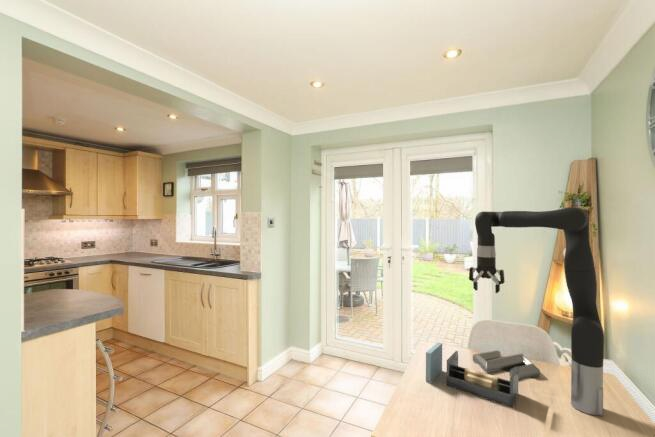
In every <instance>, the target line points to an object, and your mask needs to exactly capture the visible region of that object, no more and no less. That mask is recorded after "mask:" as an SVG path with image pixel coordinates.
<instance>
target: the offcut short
mask: <svg viewBox="0 0 655 437" xmlns="http://www.w3.org/2000/svg"><path fill="white" fill-rule="evenodd" d="M467 382H470V383H474V384H477V385H480V386H483V387H487V388H490V389H492V386H493V381H491V380H488V379H484V378H481V377H477V376H474V375H471V374H468V375H467Z"/></svg>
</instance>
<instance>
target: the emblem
mask: <svg viewBox="0 0 655 437" xmlns="http://www.w3.org/2000/svg"><path fill="white" fill-rule="evenodd" d="M472 361H473V362H474V364H477V365H478V366H479V367H480V368H481V369H482V370H483V371H484V373H485V374H489V375H490V374H493V373H497V372H501V371H502V372H507V373H509V377H511V375H512V373H513V371H514V369H515V367H518V381H519V380H523V379H525V378H529V379H535V378H538V377H540V376H541V370H540V368H538V367H537V366H536V365H535V364H534V363H533V362H532V361H531V360H529V358H528V357H527V356H525V355H524V354H523V353H517V354H511V355H505V356H502V354H501V351H500V350H493V351H485V352H480V353H475V354H474V353H473V354H472Z"/></svg>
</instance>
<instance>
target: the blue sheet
mask: <svg viewBox="0 0 655 437" xmlns="http://www.w3.org/2000/svg"><path fill="white" fill-rule="evenodd" d="M442 371H443V343H442V342H440V341H439V342H438V341H437V343H435V344H434V345H433V346H432V347H431V348H429V349H428V350H426V352H425V382H426V383H429V384H431V383H433V381H434V380H435V379H436V378H437V377H438V375H440V374H441V372H442Z"/></svg>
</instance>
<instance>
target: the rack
mask: <svg viewBox="0 0 655 437" xmlns="http://www.w3.org/2000/svg"><path fill="white" fill-rule="evenodd" d="M466 368H467V367H462V366H459V351H458V350H455V351H454V352H453V353H452V354H451V356H449V357H448V358H447V359H446V386H447V387H449V388H453V389H455V390H458V391H461V392H464V393H468V394H469V395H473V396H475V397H476V396H477V397H479V398H483V399H486V400H488V401H492V402H494V403H497V404H500V405H503V406H506V407H510V408H512V409H513V408H514V406H515V403H516V401H517V398H518V395H519V380H518V367H515V369H514V371H513V373H512V375H511V377H510V376H509V377H510V378H509V380H507V379H504V378H500V377H498V391H496V390H493V389H490V388H487V387H483V386H480V385H477V384H474V383H470V382H467V381H465V369H466Z"/></svg>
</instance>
